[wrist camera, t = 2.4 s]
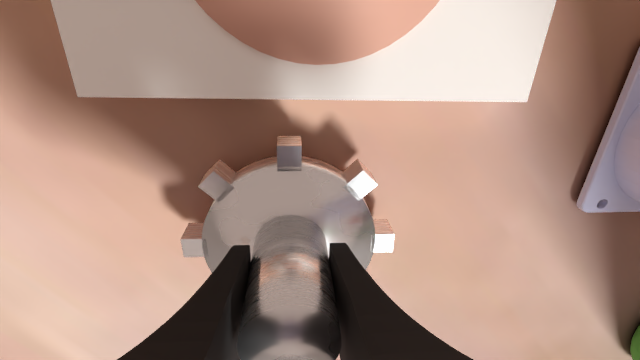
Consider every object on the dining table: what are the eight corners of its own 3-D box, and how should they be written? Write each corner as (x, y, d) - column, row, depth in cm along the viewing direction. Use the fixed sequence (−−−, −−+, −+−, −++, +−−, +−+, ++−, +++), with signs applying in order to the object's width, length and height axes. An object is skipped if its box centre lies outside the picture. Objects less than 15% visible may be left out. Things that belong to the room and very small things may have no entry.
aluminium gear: (398, 136, 13) (470, 211, 8) (376, 299, 17) (416, 426, 12) (174, 135, 13) (87, 218, 7) (202, 306, 16) (158, 444, 11)
